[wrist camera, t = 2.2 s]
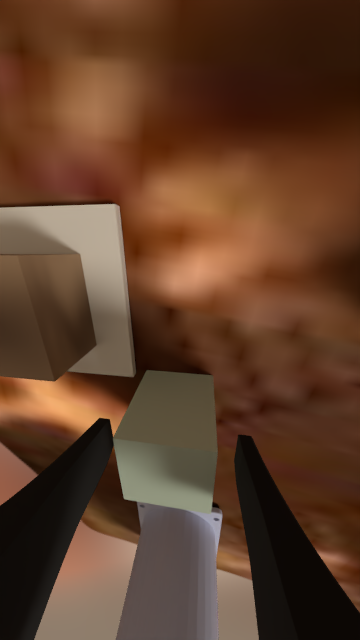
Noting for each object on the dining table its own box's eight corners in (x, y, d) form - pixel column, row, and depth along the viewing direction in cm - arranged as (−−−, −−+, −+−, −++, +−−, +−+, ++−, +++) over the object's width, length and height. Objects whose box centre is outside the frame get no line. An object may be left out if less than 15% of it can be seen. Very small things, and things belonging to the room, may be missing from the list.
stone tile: (136, 372, 13) (133, 377, 12) (10, 361, 14) (3, 365, 13) (119, 206, 9) (114, 204, 9) (-49, 211, 10) (-60, 209, 10)
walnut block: (96, 345, 12) (54, 381, 8) (20, 340, 12) (-45, 371, 9) (80, 254, 10) (17, 255, 6) (-9, 253, 10) (-107, 255, 7)
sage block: (208, 424, 14) (210, 514, 9) (150, 418, 14) (124, 499, 10) (212, 374, 12) (217, 452, 7) (146, 369, 13) (112, 438, 8)
